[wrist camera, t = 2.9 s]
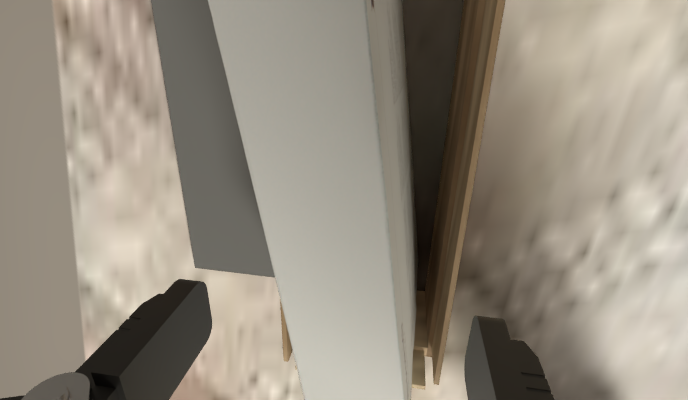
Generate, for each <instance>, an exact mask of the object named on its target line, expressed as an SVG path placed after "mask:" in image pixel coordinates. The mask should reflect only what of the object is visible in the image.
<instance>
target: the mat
mask: <svg viewBox="0 0 688 400" xmlns="http://www.w3.org/2000/svg"><path fill="white" fill-rule="evenodd" d="M151 3H152V9H153V15H154V21H155V27H156V33H157V39H158V45H159V51H160V57H161V64H162V70H163V76H164V82H165V88H166V94H167V100H168V106H169V112H170V118H171V124H172V130H173V136H174V142H175V148H176V155H177V161H178V167H179V173H180V179H181V185H182V191H183V197H184V203H185V209H186V215H187V221H188V227H189V233H190V240H191V246H192V252H193V258H194V264H195V268H201V269H210V270H218V271H226V272H234V273H243V274H251V275H259V276H267V277H275V275H274V271H273V267H272V262H271V258H270V254H269V250H268V246H267V242H266V237H265V233H264V229H263V225H262V221H261V217H260V213H259V209H258V204H257V200H256V196H255V192H254V188H253V184H252V180H251V176H250V171H249V167H248V163H247V159H246V155H245V151H244V147H243V142H242V138H241V134H240V130H239V126H238V122H237V118H236V114H235V110H234V106H233V102H232V98H231V93H230V89H229V85H228V81H227V77H226V73H225V68H224V64H223V60H222V56H221V52H220V48H219V45H218V41H217V37H216V32H215V28H214V23H213V19H212V15H211V11H210V7H209V3H208V0H151Z"/></svg>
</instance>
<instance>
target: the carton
mask: <svg viewBox="0 0 688 400" xmlns="http://www.w3.org/2000/svg"><path fill="white" fill-rule="evenodd" d="M504 5H505V0H464V4H463V12H462V19H461V27H460V34H459V42H458V49H457V57H456V64H455V72H454V79H453V86H452V94H451V101H450V109H449V116H448V124H447V131H446V139H445V146H444V154H443V161H442V169H441V176H440V183H439V191H438V198H437V206H436V213H435V221H434V228H433V236H432V243H431V251H430V258H429V266H428V273H427V281H426V288H425V291H418V290H417V291H416V322H415V338H414V349H413V364H412V388H418V389H425V360H424V356H427V357H432V360H433V378H434V384H437V385H439V380H440V374H441V369H442V363H443V357H444V351H445V346H446V340H447V334H448V328H449V323H450V317H451V311H452V305H453V299H454V294H455V288H456V282H457V276H458V271H459V265H460V259H461V253H462V248H463V242H464V236H465V230H466V225H467V219H468V213H469V207H470V201H471V196H472V190H473V184H474V178H475V173H476V167H477V161H478V155H479V150H480V144H481V138H482V132H483V126H484V121H485V115H486V109H487V103H488V98H489V92H490V86H491V80H492V75H493V69H494V63H495V57H496V52H497V46H498V40H499V34H500V28H501V23H502V17H503V11H504ZM280 304H281V300H280ZM281 321H282V339H283V356H284V361H287V362H288V361H289V358H290V355H291V353H292V346H291V341H290V337H289V333H288V329H287V325H286V321H285V316H284V312H283V308H282V304H281ZM295 367H296V369H297V366H295Z"/></svg>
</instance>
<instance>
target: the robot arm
mask: <svg viewBox="0 0 688 400" xmlns="http://www.w3.org/2000/svg"><path fill="white" fill-rule="evenodd" d="M211 329H212V317H211V311H210V305H209V298H208V292H207V287H206V284H205V283H204V282H200V281H192V280H184V279H179V280H177V281H175V282H174V283H173V284H172V286H171V287H170V288H169V289H168V290H167V291H166V292H165V293H164V294H158V295H156V296H154V297H153V298H151V299H149V300H148V301H146V302H144V303H143V304H141V305H140V306H139V307H138V309H137V310H136V311H135V312H134V313H133V314H132V315H131V316H130V317H129V319H127V320H126V321H125V322H124V323H123V324H122V325H121V326H120V327H119V330H116V331H115V332H114V333H113V334H112V335H111V336H110V337H109V338H108V339H107V340H106V341H105V342H104V343H103V344H102V345H101V346H100V347H99V348H98V349H97V350H96V351H95V352H94V353H93V354H92V355H91V356H90V357H89V358H88V359H87V360H86V361H85V362H84V363H83V365H82V366H81V367H80V368H79V369H78V370H77V371H76V372H71V373H64V374H60V375H56V376H54V377H52V378H49V379H47V380H45V381H43V382H41V383H40V384H38V385H37V386H35V387H34V388H33V389H31V390H30V391H29V392H28V393H27V394H26V395H25V396H17V397H9V398H2V399H0V400H169V399H170V397H171V396H172V394H173V393H174V391H175V390H176V388H177V386H178V385H179V383H180V382H181V380H182V379H183V377H184V376H185V374H186V373H187V371H188V370H189V368H190V367H191V365H192V364H193V362H194V361H195V359H196V357H197V356H198V354H199V353H200V351H201V350H202V348H203V347H204V345H205V344H206V342H207V340H208V338H209V336H210V333H211ZM465 382H466V389H467V395H468V400H554V398H553V395H552V394H551V390H550V387H549V385H548V382H547V380H546V379H545V374H544V372H543V369H542V367H541V364H540V362H539V359H538V357H537V356H536V355H535V354H534V352H533V351H532V350H531V349H530V348H529V347H528V346H527V344H526V343H525V342H524V341H517V340H511V339H510V336H509V333H508V330H507V327H506V324H505V321H504V320H503V319H498V318H490V317H482V316H474V318H473V322H472V326H471V331H470V336H469V341H468V346H467V351H466V356H465Z"/></svg>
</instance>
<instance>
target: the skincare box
mask: <svg viewBox="0 0 688 400" xmlns="http://www.w3.org/2000/svg"><path fill="white" fill-rule="evenodd" d="M208 3H209V7H210V11H211V15H212V19H213V23H214V28H215V32H216V37H217V41H218V45H219V48H220V52H221V56H222V60H223V64H224V68H225V73H226V77H227V81H228V85H229V89H230V93H231V98H232V102H233V106H234V110H235V114H236V118H237V122H238V126H239V130H240V134H241V138H242V142H243V147H244V151H245V155H246V159H247V163H248V167H249V171H250V176H251V180H252V184H253V188H254V192H255V196H256V200H257V204H258V209H259V213H260V217H261V221H262V225H263V229H264V233H265V237H266V242H267V246H268V250H269V254H270V258H271V262H272V267H273V271H274V275H275V279H276V283H277V287H278V292H279V296H280V300H281V304H282V308H283V312H284V316H285V321H286V325H287V329H288V333H289V337H290V341H291V346H292V350H293V354H294V358H295V362H296V366H297V371H298V375H299V379H300V383H301V387H302V392H303V396H304V400H411V389H412V364H413V349H414V338H415V322H416V291H417V277H418V246H417V228H416V210H415V197H414V180H413V162H412V146H411V130H410V114H409V99H408V84H407V69H406V53H405V38H404V23H403V7H402V0H208Z"/></svg>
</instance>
